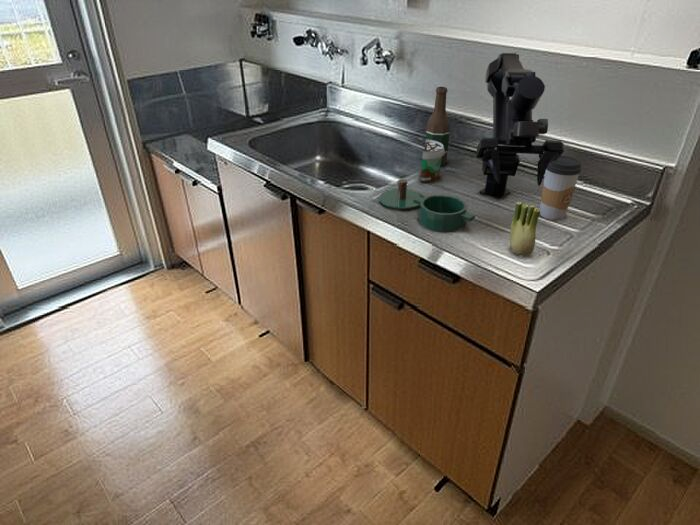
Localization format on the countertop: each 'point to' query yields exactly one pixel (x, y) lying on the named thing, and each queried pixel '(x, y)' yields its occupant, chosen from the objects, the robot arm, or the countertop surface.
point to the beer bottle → (439, 123)
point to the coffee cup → (559, 187)
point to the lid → (400, 197)
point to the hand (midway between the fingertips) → (518, 184)
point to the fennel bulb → (523, 229)
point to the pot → (443, 213)
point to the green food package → (431, 161)
